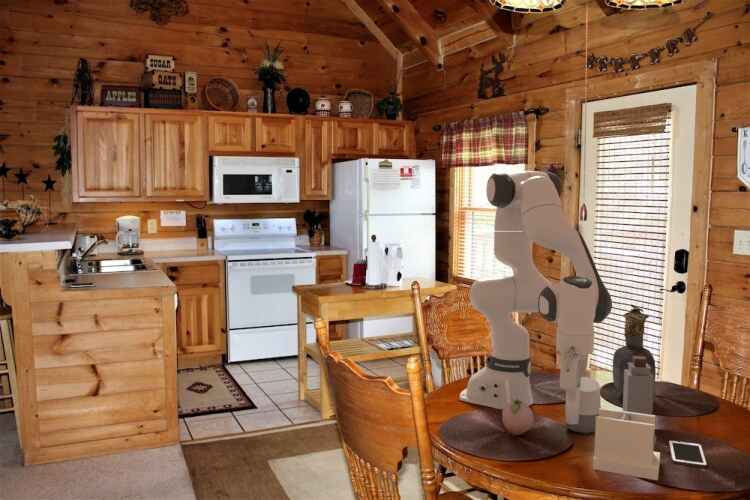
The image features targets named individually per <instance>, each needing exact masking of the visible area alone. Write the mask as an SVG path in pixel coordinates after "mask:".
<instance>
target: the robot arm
mask: <svg viewBox="0 0 750 500" xmlns="http://www.w3.org/2000/svg"><path fill="white" fill-rule="evenodd" d="M559 177H560V176H558V174H556V173H553V172H550V171H545V170H544V171H537V170H526V169H525V170H518V171H516V170H515V171H514V170H513V171H502V170H501V171H497V172H494V173H492V174H491V175H490V176H489V177H488V179H487V182H486V188H485V189H486V198H487V200H488V202H489V203H490V205H491V206H494V207H496V210H495V218H494V231H493V232H494V233H493V252H494V253H493V254H494V256H495V259H497V261H499V262H500V263H501V264H503V265H505V266H507V267H509V268H511V270H512V274H513V275H512V276H486V277H482V278H481V277H480V278H477V279H475V281H473V283H472V285H471V286H470V290H469V301H470V302H471V304H472V306H473V307H474V308H475V310H476V311H478V312H479V313H481V314H482V315H483V317H484V318H485V319H486V321H487V323H488V325H489V327H490V331H491V341H492V352H489V353H488V354H487V356H486V358H485V359H484V360H485V361H484V362H485V365H486V366H484V367H483V368H481V369H479V370H477V372H475V373H474V374H473V375H471V377H469V380H468V383H467V386H466V388H464V389H463V390H462V391H461V392H460V393H459V400H460V401H462V402H465V403H471V404H475V405H480V406H484V407H489V408H493V409H497V410H503V409H504V407H505V406H506V405H507V404H509V403H511V402H513V401H515V400H517V399H518V401H522V403H524V404H526V405H527V406H529V407H530V406H531V405H532V404H534V400H533V397H532V391H531V385H530V374H531V356H530V333H529V331H528V330H527V329H526V327H525V326H523V325H522V324H520V323H518V322H516V321H513V320H512V319H511V313H537V312H538V313H539V315H540V316H541V317H542V318H543V319H544V320H546V321H547V322H551V323H557V328H556V342H555V344H556V347H555V348H556V350H557V351H558V352H561V354H560V355H561V357H562V358H561V361H560V362H561V363H560V372H559V388H560V390H563V391H566V390H567V400H568V401H574V400H575V396H576V393H575V390H576V388H577V386H578V384H579V382H580V380H581V378H582V376H583V375H584V374H585V371H586V369H587V366H588V362H589V355H591V354H593V353H594V349H595V327H594V324H600V323H602V322H603V321H604V320H606V319H607V317H608V316H610V313H611V312H612V308H613V300H612V297H611V294H610V292H609V290H608V288H607V286H605V284H604V282H603V280H602V279H601V277H600V274H599V272H598V269H597V266H596V264H595V262H594V260H593V256H592V255H591V252H590V250H589V247H588V245H587V242H586V241H585V238H584V237H583V235H582V234H581V232H580V231H579V230H577V229H575V228H574V227H573V226H572V224H570V222H569V221H568V219H567V216H565V213H564V212H565V211H564V209H563V206H562V204H563V203H562V201H561V196H562V191H563V185H562V182H561V178H559ZM532 242H533V243H534V244H536V245H538V246H540V247H542V248H546V249H549V250H552V251H555V252H558V253H560V254H561V255H564V256H565V257H567V258H568V259H569V261H570V262H571V263H572V264H571V265H572V266H573V268H574V271H575V273H576V275H569V276H564V277H562V279H561V280H560V282H559V283H557V284H552V282H550V280H549V279H547V278H546V277H545V276H543V274H542V273H541V272H540V271H539V269H538V268H537V266H536V265H535V261H534V258H533V253H532V252H533V251H532ZM583 377H584V376H583Z"/></svg>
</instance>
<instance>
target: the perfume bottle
mask: <svg viewBox="0 0 750 500" xmlns="http://www.w3.org/2000/svg"><path fill="white" fill-rule="evenodd" d="M632 358H633V363H630V362H628V367H629V369H624V392H623V400H622V411H627V412H634V413H641V414H648V415H653V406H654V404H653V403H654V389H653V386H654V376H653V375H652V374H651V373H650V370H651V367H650V366H649V365H648V364H647V363H646V360H647V359H646V358H645V357H644V356H632ZM654 387H655V386H654Z"/></svg>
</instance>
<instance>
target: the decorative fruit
mask: <svg viewBox="0 0 750 500" xmlns="http://www.w3.org/2000/svg"><path fill="white" fill-rule="evenodd" d="M501 415H502V417H501V418H502V422H503V426H504V428H505V430H507V431H508V432H509V433H510V434H511V435H513V436H515V435H517V436H519V435H523V434H525V433H526V432H528V431H529V430H530V429H532V426H533V425H534V421H535V417H534V413H533V410H532V409H531V407H530V405H529V406H527V405H526V404H524V403H522V401H518V399H517V400H515V401H513V402H511V403H509V404H507V405H506V406H505V407H504V409H502V413H501Z"/></svg>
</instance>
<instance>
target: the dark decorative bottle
mask: <svg viewBox="0 0 750 500" xmlns="http://www.w3.org/2000/svg"><path fill="white" fill-rule="evenodd" d="M630 307H632V308H631V309H630V311H628V312H626V313H624V314H623V315H622V316H623V317H624V318H625V322H624V323H625V324H624V338H625V339H624V340H625V345H623V346H621V347H619V348H617V349H616V350H615V351H614V353H613V357H612V381H613V384H614V388H615V389H616V391H617V392H619V393H620V395H619V397H620V400H622V401H623V392H624V369H629V367H628V362H630V363H633V358H632V356H644V357H645V358H646V359H647V360H646V363H647V364H648V365H649V366H650V367H651V370H650V373H651V374H652V375H653V376H654V386H653V390H654V388H655V384H656V373H657V372H656V360H655V358H654V356H653V353H652V352H651V351H650V350H649V349H647V348H646V347H644V335H645V323H646V320H647V319H648V318H649V317H650V316H649V315H650V314H643V313H644V310H643V309H642V308H639V306H636V305H634V304H630Z"/></svg>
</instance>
